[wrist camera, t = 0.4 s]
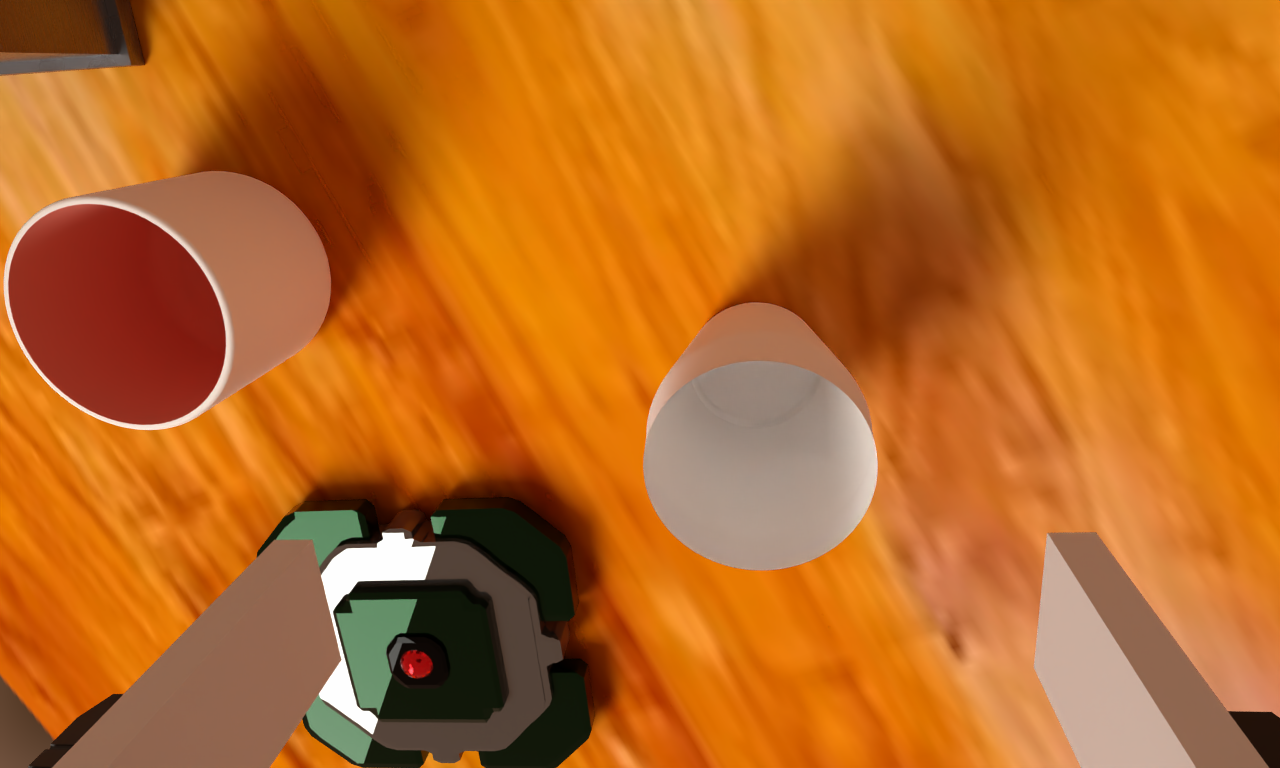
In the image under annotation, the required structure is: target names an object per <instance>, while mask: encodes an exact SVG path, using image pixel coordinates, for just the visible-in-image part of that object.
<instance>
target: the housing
mask: <svg viewBox="0 0 1280 768" xmlns="http://www.w3.org/2000/svg"><path fill="white" fill-rule="evenodd" d="M140 65H145V63H144V59H143V55H142V50H141V46H140V42H139V38H138V34H137V30H136V26H135V22H134V18H133V14H132V10H131V5H130V1H129V0H0V76H2V75H16V74H30V73H44V72H57V71H71V70H85V69H99V68H113V67H127V66H140Z"/></svg>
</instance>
